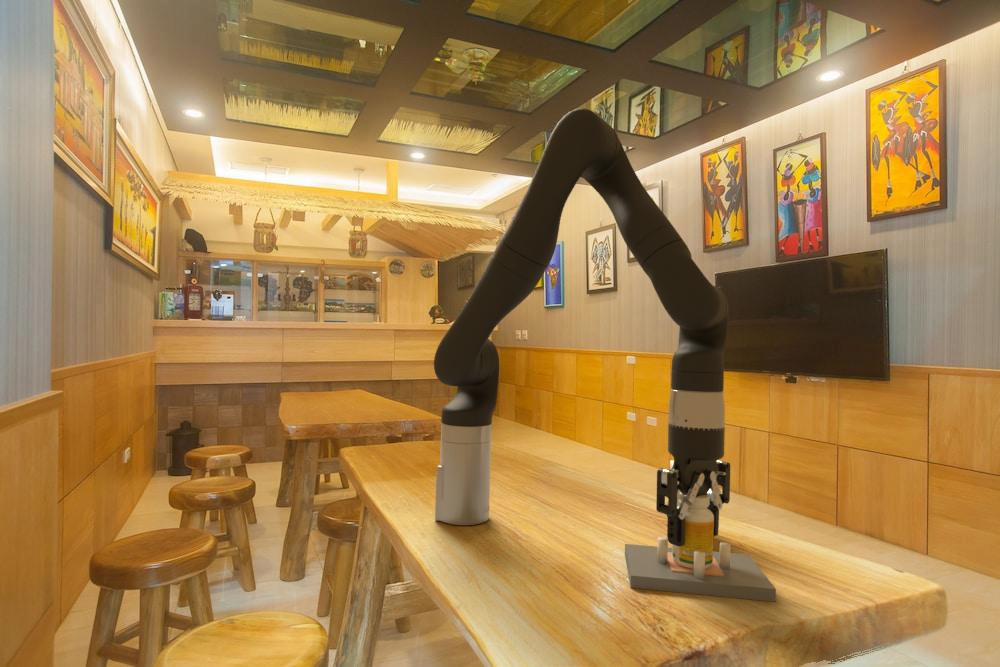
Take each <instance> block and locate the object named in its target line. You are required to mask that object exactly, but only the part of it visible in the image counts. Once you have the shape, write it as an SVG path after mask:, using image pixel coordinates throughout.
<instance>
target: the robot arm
mask: <svg viewBox="0 0 1000 667" xmlns="http://www.w3.org/2000/svg"><path fill="white" fill-rule="evenodd" d="M620 140H621V139H620V138H619V136H618V134H617V132H616V131H615V129H614V128H613V127H612V126H611V125H610V124H609V123H608V122H607V121H605V120H604V119H603V118H602V117H601V116H599V114H597V113H596V112H594V111H593V110H591V109H588V108H584V107H582V108H581V107H579V108H576V109H575V108H574V109H573V110H571V111H568V113H566V114H565V115H563V116H562V117H561V119H560V120H559V121H558V122H557V124H556V125H555V127H554V128H553V130H552V132H551V134H550V136H549V137H548V140H547V143H546V145H545V148H544V150H543V152H542V155H541V157H540V160H539V162H538V165H537V167H536V169H535V172H534V174H533V176H532V179H531V181H530V183H529V185H528V187H527V189H526V192H525V193H524V195H523V197H522V199H521V200H520V203H519V204H518V206H517V208H516V211H515V212H514V214H513V216H512V219H511V221H510V222H509V224H508V226H507V227H506V229H505V231H504V233H503V235H502V236H501V239H500V240H499V241H498V244H497V245H496V247H495V249H494V251H493V253H492V255H491V257H490V258H489V260H488V263H487V265H486V267H485V269H484V271H483V272H482V274H481V276H480V279H478V282H477V283H476V286H475V287H474V289H473V291H472V293H471V294H470V296H469V298H468V299H467V301H466V303H465V304H464V306H463V308H462V309H461V311H460V312H459V314H458V315H457V317H456V318H455V319H454V321H453V323H452V324H451V326H450V327H449V329H448V330H447V331H446V333H445V334H444V336H443V337H442V339H441V341H440V342H439V343H438V346H437V348H436V351H435V354H434V358H433V370H434V374H435V375H436V378H437V379H438V380H439V381H440V382H441V383H442V384H445V386H450V387H457V390H456V393H455V395H454V396H453V398H452V400H450V401H449V402H448V403H447V404H445V406H443V407H442V410H441V423H440V424H441V425H440V427H441V429H440V453H439V455H440V456H439V457H440V458H439V460H440V461H439V464H438V465H437V466H436V474H435V476H436V480H435V506H434V507H435V510H434V520H435V521H440V522H442V523H445V524H448V525H453V526H455V525H456V526H475V525H480V524H483V523H486V522H488V520H489V518H490V496H491V495H490V494H491V493H490V492H491V464H492V463H491V458H492V455H491V454H492V427H493V426H492V422H493V415H494V412H495V410H496V407H497V403H498V392H499V381H500V380H499V379H500V357H499V353H498V352H499V351H498V349H497V346H496V345H495V344H494V342H493V341H492V340H491V339H489V338H490V336H491V334H492V332H494V329H495V328H496V327H497V326H498V324H499V323H500V322H501V321H502V320H504V318H505V317H507V316H508V315H509V314H510V313H511V312H512V311H513V310H515V309H516V308H517V307H518V306H519V305H520V304H522V303H523V302H524V301H525V300H526V299H527V298H528V297H529V296H530V295H531V293H532V292H533V291H534V289H536V288H537V285H538V284H539V282H540V281H541V279H542V277H543V276H544V274H545V272H546V270H547V269H548V266H549V265H550V263H551V261H552V258H553V256H554V254H555V251H556V247H557V242H558V237H559V231H560V224H561V219H562V214H563V211H564V208H565V205H566V203H567V201H568V198H569V197H570V195H571V193H572V192H573V189H574V188H575V186H576V185H577V182H578V181H579V179H580V178H583V179H584V180H585V181H586V182H587V183H588V184H589V185H590V186H591V187H592V188H593V189H594V190H595V192H597V193H598V194H599V195H600V197H601V198H602V199H603V201H604V202H605V203H606V205H607V206H608V208H609V210H610V212H611V213H612V216H613V219H614V221H615V223H616V226H617V228H618V230H619V233H620V235H621V237H622V239H623V241H624V243H625V245H626V246H627V248H628V250H629V251H630V252H631V255H632V256H633V257H634V259H635V260H636V262H637V263H638V264H639V266H640V267H641V269H642V271H643V272H644V273H645V274H646V276H647V277H648V278H649V279H650V281H651V285H652V286H653V288H654V291H655V292H656V294H657V295H656V296H658V299H659V300H660V303H661V304H662V306H663V308H664V310H665V311H666V313H667V314H668V315H669V317H670V318H671V320H672V321H673V322H674V323H675V324H676V325H677V326H679V334H678V344H677V349H676V351H675V352H674V353H673V356H672V360H671V369H670V370H671V372H670V374H671V376H670V378H671V379H670V380H671V381H670V397H669V401H668V419H667V420H668V426H667V430H668V432H667V452H668V453H669V455H671V456H672V457H673V460H674V464H673V467H672V469H670V468H669V469H666V468H663V467H659V468H658V469H657V471H656V511H657V512H658V513H660V514H663V515H666V517H667V524H666V527H667V529H666V530H667V531H666V532H667V533H666V536H667V537H666V538H667V539H668V544H670V545H672V546H673V545H676V546H679V547H680V546H683V545H684V544H685V519H684V517H685V514H686V512H687V509H688V507H689V505H692V504H693V503H694V500H695V497H698V496H699V495H701V494H702V495H709V501H710V504H709V506H708V507H707V509H709V510H710V511H711V512H712V513H713V515H714V533H713V537H717V536H718V535H719V527H720V526H719V525H720V522H719V521H720V510H722V508H723V504H729V502H730V500H731V499H730V496H731V488H730V487H731V463H730V462H728V461H727V462H726V461H724V460H721V459H723V458H724V456H725V432H726V431H725V430H726V429H725V428H726V427H725V426H726V405H725V397H724V382H725V380H724V378H725V377H724V376H725V374H724V372H725V368H724V354H725V348H726V342H727V335H728V328H729V318H730V316H729V311H730V310H729V302H728V299H727V296H726V295H725V293H724V292H723V291H722V290H721V289H720V288H719V287H716V286H715V285H713V284H712V283H711V282H710V281H709V279H708V278H707V277H706V276H705V274H704V273H703V272H702V270H701V269H700V268H699V266H698V264H696V262H695V261H694V260H693V258H692V252H691V251H690V249H689V247H688V245H687V244H686V242H685V241H684V239H683V238H682V236H681V235H680V233H679V232H678V231H677V230H676V228H675V227H674V225H673V224H672V223H671V221H670V220H669V219H668V217H667V216H666V215H665V213H664V212H663V211H662V209H661V207H659V206H658V205H657V203H656V202H655V201H654V199H653V198H652V196H651V195H650V194H649V193H648V191H647V189H646V188H645V186H644V185H643V183H642V182H641V180H640V178H639V177H638V175H637V173H636V172H635V170H634V168H633V166H632V164H631V162H630V159H629V157H628V156H627V153H626V151H625V149H624V147H623V144H622V142H621V141H620ZM720 487H721V489H722V491H721V489H720ZM678 490H680V492H681V493H682V494H684V495H682V494H678V493H677V492H678ZM666 498H667V499H668V500H667V503H666ZM677 502H681V504H680V506H679V509H677Z"/></svg>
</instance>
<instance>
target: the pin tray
mask: <svg viewBox="0 0 1000 667" xmlns="http://www.w3.org/2000/svg"><path fill="white" fill-rule="evenodd" d="M672 553H673V547H669V541H668V538H667V537H664V536H659V537H657V545H656V546H653V545H643V544H630V543H624V557H625V562H626V570H627V575H628V576H627V577H628V580H629V586H630V588H631V589H642V590H653V591H662V592H673V593H682V594H692V595H700V596H701V595H703V596H711V597H712V596H713V597H721V598H722V597H723V598H732V599H733V598H734V599H741V600H742V599H744V600H752V601H764V602H772V603H775V602H776V599H777V598H776V597H777V594H776V592H777V589H776V587H775V586H774V584H772V583H771V581H770V580H769V578H768V577H767V575H765V573H764V572H763V570H761V568H760V567H759V566H758V564H757V563H756V562H755V560H754V559H753V558H752V557H751V555H750V554H748V553H747V554H746V553H735V552H731V543H729V542H724V541H722V542H721V541H720V542H719V551H714V550H713V562H712V566H711V567H710V568H707V569H705V552H703V551H700V550H695V551H694V569H691V568H687V567H683V566H680V565H678V564H677V563H676V562H675V561H674V560H673V557H672Z"/></svg>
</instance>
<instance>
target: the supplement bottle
mask: <svg viewBox="0 0 1000 667" xmlns="http://www.w3.org/2000/svg"><path fill="white" fill-rule="evenodd" d="M680 494H682V493H681V492H680ZM682 495H684V494H682ZM680 504H681V502H680ZM709 504H710V501H709V495H702V494H701V495H699V496H698V497H695V500H694V503H693V504H692V505H689V507H688V509H687V512H686V514H685V517H684V519H685V544H684V545H683V546H680V547H679V546H676V545H673V544H672V548H673V553H672V557H673V560H674V561H675V562H676V563H677V564H678V565H680V566H683V567H687V568H691V569H694V551H695V550H700V551H703V552H705V569H707V568H710V567H711V566H712V562H713V551H714V536H713V533H714V515H713V513H712V512H711V511H710V510H709V509H707V507H708V506H709ZM677 509H679V506H678V507H677Z"/></svg>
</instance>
